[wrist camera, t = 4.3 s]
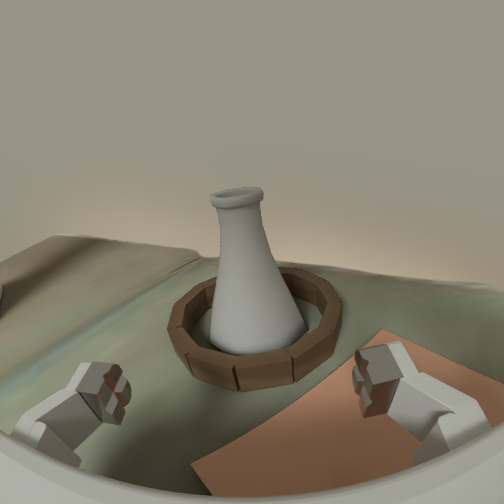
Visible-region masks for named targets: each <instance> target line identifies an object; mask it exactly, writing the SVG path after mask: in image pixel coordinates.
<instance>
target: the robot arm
mask: <svg viewBox="0 0 504 504" xmlns="http://www.w3.org/2000/svg"><path fill="white" fill-rule="evenodd" d="M2 291H3V288H2V286H1V285H0V301H1V296H2ZM354 359H355V362H356V365H355V366H354V367H353V370H352V382H353V387H354V391H355V393H356V394H357V395H359V396H360V399H359V403H358V404H359V407H360V410H361V413H362V416H363V418H368V417H372V416H377V415H381V414H385V413H387V415H389V416H390V417H391V418H392V419H393V420H395V421H396V422H397V423H398V424H400V425H401V426H402V427H403V428H405V429H406V430H407V431H408V432H409V433H411V434H412V435H413V436H414V437H416V438H417V439H418V440H419V441H421V442H422V444H421V445H420V446H419V448H418V449H417V451H416V452H415V453H414V455H413V456H412V459H413V462H414V465H415V466H414V467H411V468H408V469H405V470H403V471H400V472H397V473H394V474H390V475H387V476H384V477H381V478H377V479H374V480H370V481H366V482H362V483H358V484H354V485H349V486H345V487H340V488H335V489H329V490H323V491H317V492H310V493H302V494H293V495H281V496H264V497H223V496H206V495H195V494H186V493H178V492H171V491H165V490H159V489H153V488H148V487H143V486H139V485H134V484H130V483H126V482H122V481H118V480H114V479H111V478H107V477H104V476H101V475H98V474H95V473H92V472H89V471H86V470H83V469H80V468H79V466H80V463H81V459H80V457H79V456H78V455H76V454H75V453H74V452H73V451H74V450H75V449H76V448H77V447H78V446H79V445H80V444H81V443H82V442H83V441H84V440H85V439H86V438H87V437H89V436H90V435H91V434H92V433H93V432H94V431H95V430H96V429H97V428H98V427H99V426H100V425H101V424H102V423H108V424H114V425H121V422H122V420H123V417H124V415H125V409H124V407H125V406H126V405H127V404H128V403H129V402H130V399H131V386H130V384H129V382H128V380H127V379H126V378H124V377H123V376H122V372H123V371H122V370H121V368H120V366H119V365H117V364H110V363H101V362H92V361H84V362H82V363H81V364H80V366H79V367H78V369H77V371H76V372H75V374H74V375H73V377H72V379H71V380H70V382H69V383H68V385H67V387H66V388H65V389H61V390H59V391H58V392H56V393H55V394H53V395H52V396H50V397H48V398H47V399H45V400H44V401H42V402H41V403H39V404H37V405H36V406H34V407H33V408H31V409H30V410H28V411H26V412H25V413H23V415H22V416H21V418H20V420H19V421H18V423H17V425H16V427H15V428H14V430H13V432H12V434H11V435H10V436H9V435H8V434H6V433H4V432H3V431H1V430H0V504H504V421H503V422H501V423H499V424H498V425H496V426H495V427H493V428H492V427H491V425H490V424H489V422H488V420H487V418H486V416H485V414H484V413H483V411H482V409H481V407H480V406H479V404H478V402H477V401H476V399H474V398H472V397H470V396H468V395H466V394H464V393H462V392H460V391H458V390H456V389H454V388H452V387H450V386H449V385H447V384H445V383H443V382H441V381H439V380H437V379H435V378H433V377H431V376H430V375H428V374H426V373H424V372H421V373H419V372H418V370H417V368H416V367H415V365H414V363H413V361H412V360H411V358H410V356H409V355H408V353H407V351H406V350H405V348H404V346H403V345H402V343H401V342H400V341H399V340H397V341H393V342H389V343H385V344H381V345H376V346H371V347H367V348H362V349H357V350H356V352H355V357H354Z"/></svg>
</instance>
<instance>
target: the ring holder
mask: <svg viewBox="0 0 504 504" xmlns="http://www.w3.org/2000/svg"><path fill="white" fill-rule="evenodd" d="M278 269H279V271H280V273H281V275H282V277H283V280H284V282H285V284H286V286H287V287H288V289H289V291H290V293H291V294H294V295H296V296H298V297H300V298H302V299H304V300H306V301H308V302H310V303H312V304H314V305H316V306H317V307H318V309H319V311H320V313H321V315H322V319H321V322H320V325H319V327H318V328H316V329H315V330H313V331H312V332H310V333H309V334H307V335H306V336H304V337H303V338H301V339H299V340H298V341H296V342H295V343H293V344H292V345H290V346H289V347H287V348H285V349H280V350H275V351H269V352H263V353H257V354H250V355H243V356H234V355H230V354H226V353H222V352H218V351H214V350H210V349H207V348H203V347H199V346H198V345H197V344H196V343H195V342H194V341H193V340H192V338H191V337H190V335H191V328H192V325H193V324H194V323H195V322H196V321H197V320H198V319H199V318H200V317H201V316H202V315H203V314H204V313H205V312H206V311H207V310H208V309H209V308H210V307H212V303H213V298H214V292H215V286H216V279H217V277H214V278H212V279H209V280H207V281H204V282H202V283H199V284H198V286H197V285H196V286H194V287H193V288H192V289H191V290H190V291H189V292H188V293H186V294H185V295H184V296H183V297H182V298H181V299H179V300H178V301H177V302H176V303H175V305H173V309H172V312H171V316H170V320H169V323H168V327H167V331H168V334H169V336H170V339H171V342H172V344H173V347H174V350H175V352H176V354H177V355H178V356H179V358H180V359H181V361H182V362H183V363H184V365H185V366H186V368H187V369H188V370H189V372H190V373H191V374H192V376H193V377H194V376H195V378H196V379H199V380H202V381H205V382H208V383H211V384H214V385H217V386H220V387H224V388H227V389H230V390H234V391H237V392H238V390H239V389H241V392H244V391H251V390H258V389H265V388H271V387H276V386H282V385H287V384H293V380H294V381H295V382H297V381H298V380H300V379H301V378H303V377H304V376H305V375H307V374H308V373H310V372H311V371H312V370H314V369H315V368H316V367H318V366H319V365H320V364H322V363H323V362H324V361H326V360H327V359H328V358H330V357H331V354H333V352H334V349H335V345H336V342H337V338H338V335H339V331H340V328H341V319H342V300H341V299H340V297H339V296H338V295H337V293H336V292H335V290H334V289H333V287H332V286H331V284H330V283H329V282H328V281H327V280H326V279H323V278H321V277H318V276H316V275H314V274H311V273H309V272H306V271H304V270H301V269H299V270H298V268H285V267H278Z"/></svg>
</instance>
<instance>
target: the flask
mask: <svg viewBox="0 0 504 504" xmlns="http://www.w3.org/2000/svg"><path fill="white" fill-rule="evenodd" d="M210 199H211V203H212V206H213V207H216V209H217V212H218V217H219V224H220V244H221V245H220V247H221V249H220V258H219V265H218V272H217V279H216V286H215V292H214V298H213V303H212V309H211V316H210V343H212V344H213V345H214V346H216V347H217V348H219V349H220V350H221V351H223V352H224V353H226V354H230V355H234V356H243V355H250V354H257V353H263V352H269V351H275V350H280V349H285V348H287V347H288V346H290V345H291V344H292V343H293V342H294V341H296V340H297V339H298V338H299V337H300V336H302V335H303V334H304V333H305V332H306V331H307V330H308V329H307V327H306V325H305V323H304V320H303V318H302V316H301V314H300V312H299V310H298V308H297V306H296V304H295V301H294V299H293V297H292V295H291V293H290V291H289V289H288V287H287V286H286V284H285V282H284V280H283V277H282V275H281V273H280V271H279V269H278V267H277V264H276V262H275V260H274V258H273V256H272V254H271V251H270V248H269V244H268V241H267V238H266V235H265V231H264V228H263V225H262V219H261V211H260V201H262V200H263V190H262V189H260V188H259V187H258V188H257V187H241V188H235V189H228V190H225V191H221V192H217V193H214V194H211V198H210Z"/></svg>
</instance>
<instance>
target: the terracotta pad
mask: <svg viewBox="0 0 504 504" xmlns="http://www.w3.org/2000/svg"><path fill="white" fill-rule="evenodd" d="M397 340H399V341H400V342H401V343H402V345H403V346H404V348H405V350H406V351H407V353H408V355H409V356H410V358H411V360H412V361H413V363H414V365H415V367H416V368H417V370H418V372H419V373H421V372H424V373H426V374H428V375H430V376H431V377H433V378H435V379H437V380H439V381H441V382H443V383H445V384H447V385H449V386H450V387H452V388H454V389H456V390H458V391H460V392H462V393H464V394H466V395H468V396H470V397H472V398H474V399H476V401H477V402H478V404H479V406H480V407H481V409H482V411H483V413H484V414H485V416H486V418H487V420H488V422H489V424H490V425H491V427H492V428H493V427H495V426H496V425H498V424H499V423H501V422H503V421H504V384H502V383H500V382H498V381H496V380H493V379H491V378H489V377H487V376H484V375H482V374H480V373H478V372H475V371H473V370H471V369H469V368H466V367H464V366H462V365H460V364H458V363H455V362H453V361H451V360H449V359H447V358H444V357H442V356H440V355H438V354H436V353H434V352H431V351H429V350H427V349H425V348H423V347H420V346H418V345H416V344H414V343H412V342H410V341H408V340H405V339H403V338H401V337H399V336H397V335H395V334H393V333H390V332H388V331H386V330H384V329H382V330H381V331H379V332H378V333H377V334H376V335H375V336H374V337H373V338H372V339H371V340H370V341H369V342H368V343H367V344H366V345H364V346H363V347H362V348H367V347H371V346H376V345H381V344H385V343H389V342H393V341H397ZM362 348H361V349H362ZM354 357H355V354H354V355H353V356H352V357H351V358H350V359H349V360H347V361H346V362H345V363H344V364H343V365H342V366H340V367H339V368H338V369H337V370H335V371H334V372H333V373H332V374H331V375H329V376H328V377H327V378H326V379H324V380H323V381H322V382H320V383H319V384H318V385H317V386H315V387H314V388H313V389H311V390H310V391H309V392H307V393H306V394H305V395H303V396H302V397H301V398H299V399H298V400H296V401H295V402H294V403H292V404H291V405H289V406H288V407H286V408H285V409H284V410H282V411H281V412H279V413H278V414H276V415H275V416H273V417H272V418H270V419H269V420H267V421H265V422H264V423H262V424H261V425H259V426H258V427H256V428H254V429H253V430H251V431H249V432H248V433H246V434H244V435H243V436H241V437H239V438H238V439H236V440H234V441H232V442H231V443H229V444H227V445H225V446H223V447H222V448H220V449H218V450H216V451H214V452H212V453H210V454H208V455H206V456H204V457H202V458H200V459H198V460H196V461H194V462H192V463H190V464H191V466H192V467H193V469H194V470H195V472H196V473H197V475H198V476H199V477H200V479H201V480H202V482H203V483H204V484H205V486H206V487H207V489H208V490H209V491H210V493H211V494H212V495H213V496H223V497H264V496H281V495H293V494H302V493H310V492H317V491H323V490H329V489H335V488H340V487H345V486H349V485H354V484H358V483H362V482H366V481H370V480H374V479H377V478H381V477H384V476H387V475H390V474H394V473H397V472H400V471H403V470H405V469H408V468H411V467H414V466H415V465H414V462H413V459H412V456H413V455H414V453H415V452H416V451H417V449H418V448H419V446H420V445H421V444H422V442H421V441H419V440H418V439H417V438H416V437H414V436H413V435H412V434H411V433H409V432H408V431H407V430H406V429H405V428H403V427H402V426H401V425H400V424H398V423H397V422H396V421H395V420H393V419H392V418H391V417H390V416H389V415H387V413H385V414H381V415H377V416H372V417H368V418H363V416H362V413H361V410H360V407H359V404H358V403H359V399H360V396H359V395H357V394H356V393H355V391H354V387H353V382H352V370H353V367H354V366H355V365H356V362H355V359H354Z"/></svg>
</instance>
